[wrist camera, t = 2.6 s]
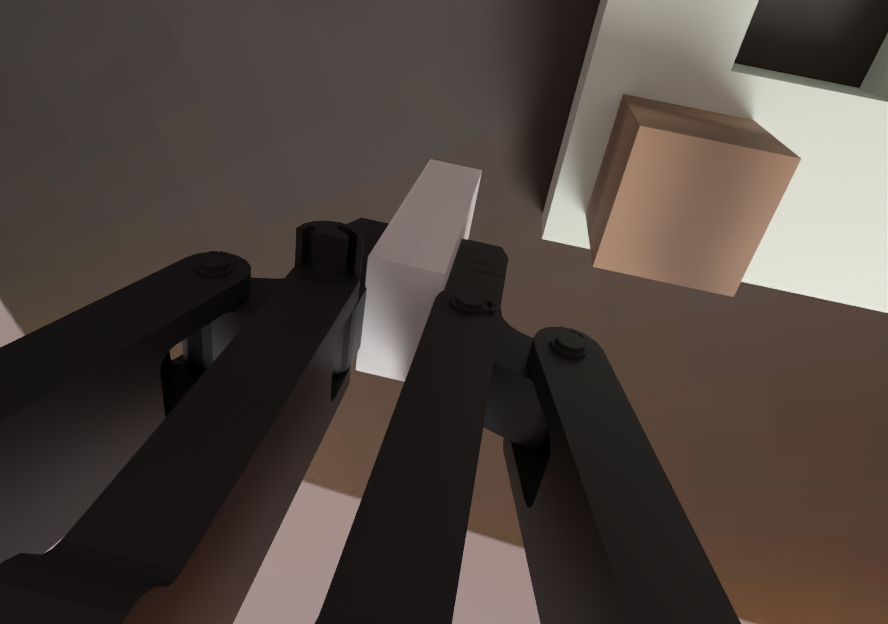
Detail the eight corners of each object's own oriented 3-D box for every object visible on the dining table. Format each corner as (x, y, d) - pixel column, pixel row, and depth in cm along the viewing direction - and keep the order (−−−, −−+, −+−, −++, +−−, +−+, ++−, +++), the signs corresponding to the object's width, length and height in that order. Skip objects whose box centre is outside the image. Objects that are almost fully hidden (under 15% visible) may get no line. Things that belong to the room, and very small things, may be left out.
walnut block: (585, 214, 25) (592, 266, 21) (622, 93, 23) (640, 125, 18) (702, 239, 25) (733, 296, 21) (753, 120, 23) (801, 158, 18)
